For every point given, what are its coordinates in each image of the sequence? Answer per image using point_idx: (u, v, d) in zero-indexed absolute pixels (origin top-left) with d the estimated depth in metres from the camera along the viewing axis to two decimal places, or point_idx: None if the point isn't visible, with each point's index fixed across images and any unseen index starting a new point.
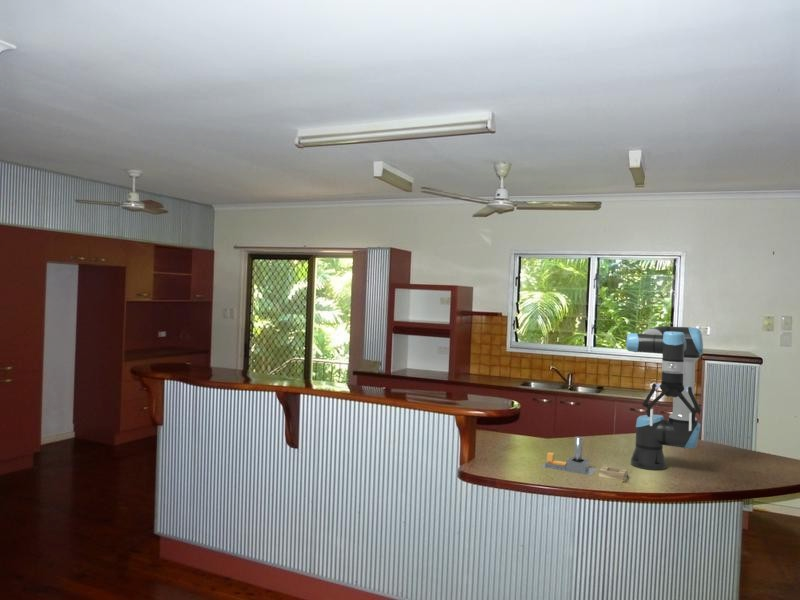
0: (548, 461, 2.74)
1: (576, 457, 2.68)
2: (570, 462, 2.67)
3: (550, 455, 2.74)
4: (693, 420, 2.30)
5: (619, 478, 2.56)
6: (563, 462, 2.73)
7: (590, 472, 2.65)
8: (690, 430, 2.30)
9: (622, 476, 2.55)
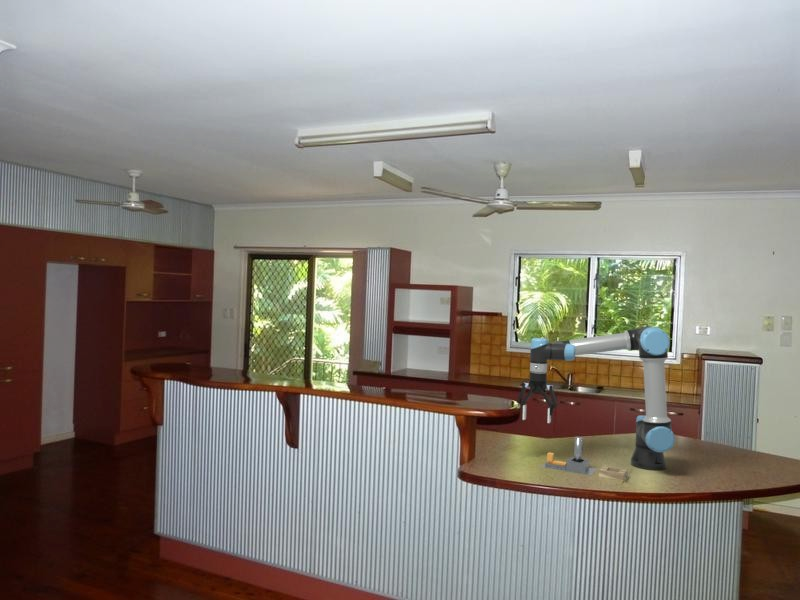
0: (548, 461, 2.74)
1: (576, 457, 2.68)
2: (570, 462, 2.67)
3: (550, 455, 2.74)
4: (551, 414, 2.74)
5: (619, 478, 2.56)
6: (563, 462, 2.73)
7: (590, 472, 2.65)
8: (548, 422, 2.74)
9: (622, 476, 2.55)
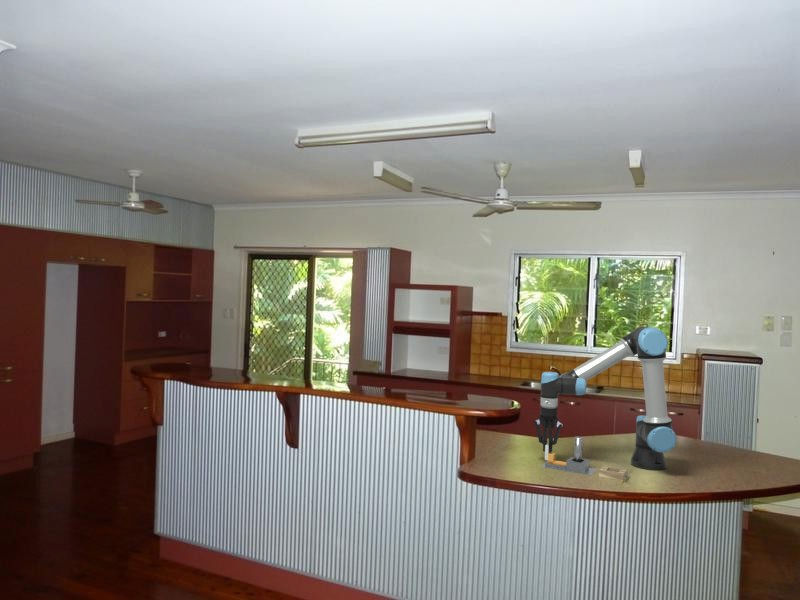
0: (549, 461, 2.74)
1: (576, 457, 2.68)
2: (570, 462, 2.67)
3: (551, 455, 2.73)
4: (550, 451, 2.75)
5: (619, 478, 2.56)
6: (564, 462, 2.73)
7: (590, 472, 2.65)
8: (547, 459, 2.75)
9: (622, 476, 2.55)
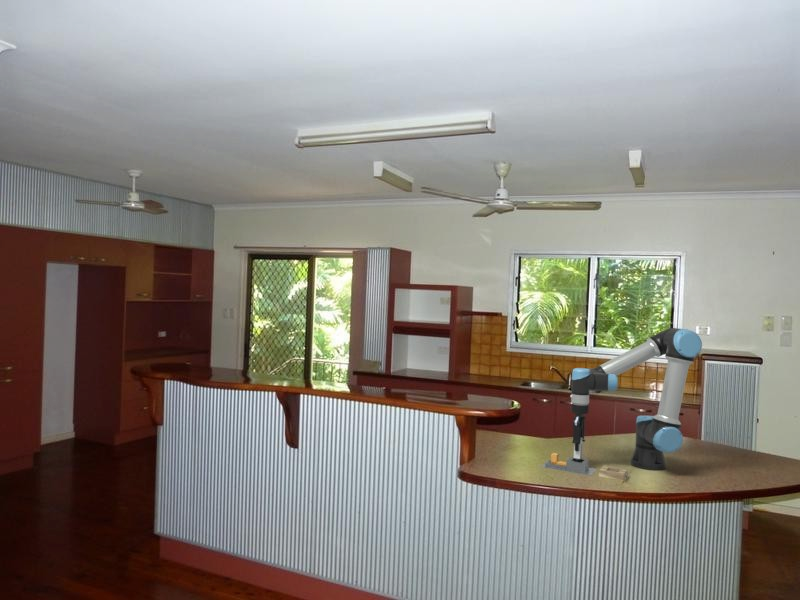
0: (552, 462, 2.73)
1: None
2: (570, 462, 2.67)
3: (554, 456, 2.73)
4: None
5: (619, 478, 2.56)
6: None
7: (590, 472, 2.65)
8: None
9: (622, 476, 2.55)
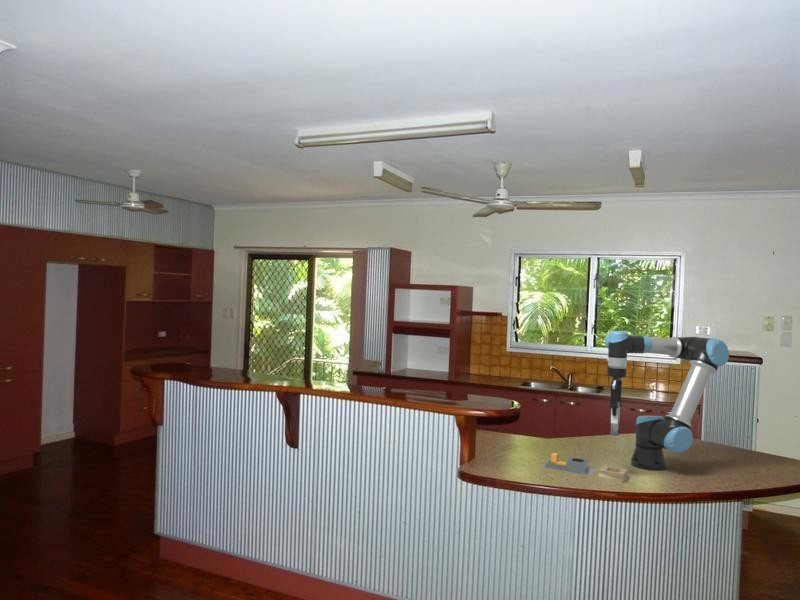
0: (552, 462, 2.73)
1: None
2: (570, 462, 2.67)
3: (554, 456, 2.73)
4: None
5: (619, 478, 2.56)
6: None
7: (590, 472, 2.65)
8: None
9: (622, 476, 2.55)
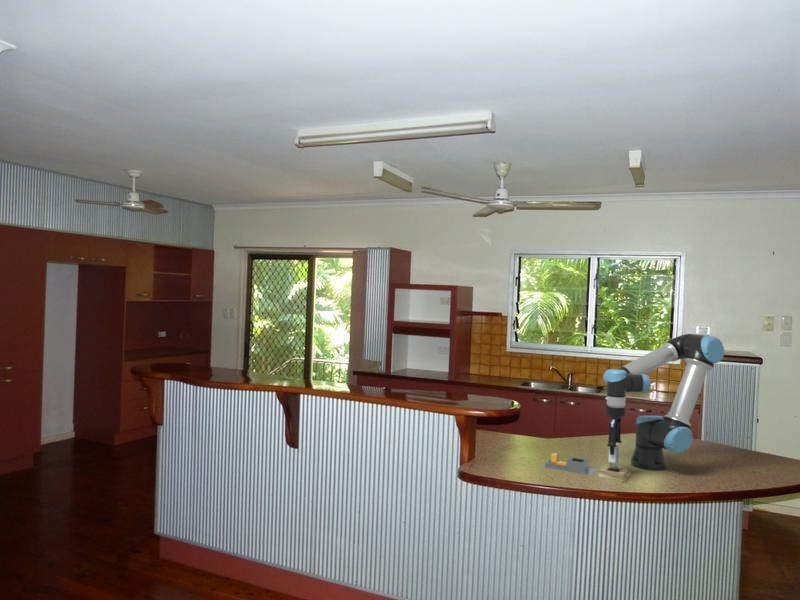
0: (552, 462, 2.73)
1: (612, 465, 2.61)
2: (570, 462, 2.67)
3: (554, 456, 2.73)
4: None
5: (619, 478, 2.56)
6: None
7: (590, 472, 2.65)
8: None
9: (622, 476, 2.55)
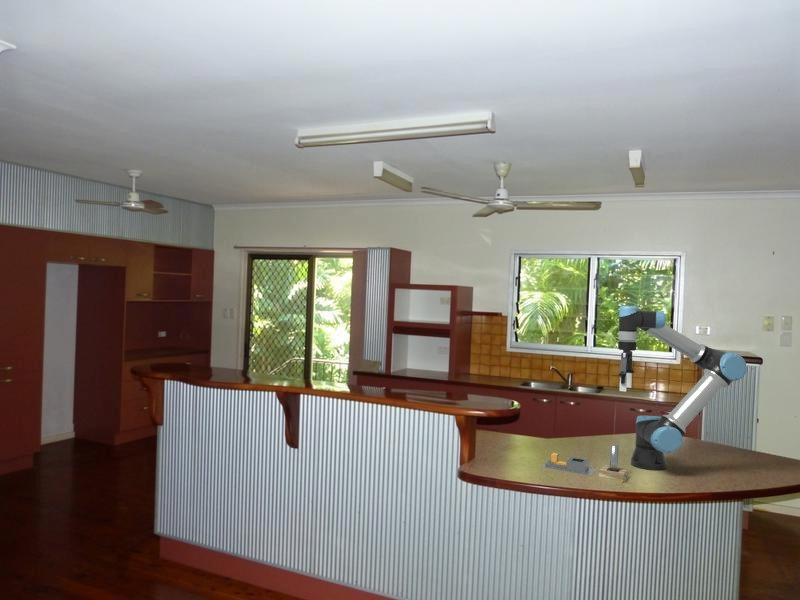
0: (552, 462, 2.73)
1: (612, 465, 2.61)
2: (570, 462, 2.67)
3: (554, 456, 2.73)
4: None
5: (619, 478, 2.56)
6: None
7: (590, 472, 2.65)
8: (619, 390, 2.65)
9: (622, 476, 2.55)
